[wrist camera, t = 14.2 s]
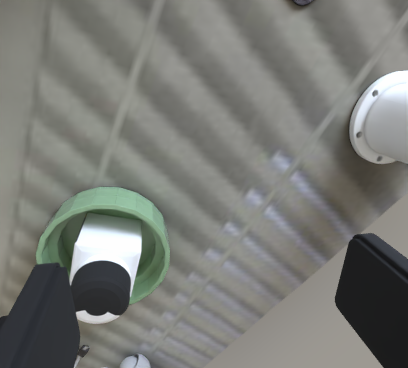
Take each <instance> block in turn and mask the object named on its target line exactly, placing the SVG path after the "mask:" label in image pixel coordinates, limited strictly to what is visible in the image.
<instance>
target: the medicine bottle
mask: <svg viewBox="0 0 408 368" xmlns="http://www.w3.org/2000/svg"><path fill="white" fill-rule="evenodd" d="M141 246H142V221H141V220H136V219H129V218H122V217H115V216H108V215H101V214H94V213H87V214H86V216H85V218H84V221H83V223H82V226H81V229H80V231H79V234H78V236H77V239H76V242H75V244H74V251H73V259H72V266H71V273H70V280H69V281H70V286H71V291H72V296H73V301H74V306H75V311H76V316H77V319H79V320H81V321H83V322H86V323H91V324H101V323H107V322H110V321H112V320H114V319H116V318H118V317H119V316H120V315H122V314H123V313H124V312H125V311H126V309H127V307H128V305H129V302H130V297H131V294H132V290H133V285H134V281H135V277H136V273H137V268H138V264H139V260H140V256H141Z"/></svg>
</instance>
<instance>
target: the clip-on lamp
mask: <svg viewBox="0 0 408 368" xmlns="http://www.w3.org/2000/svg"><path fill="white" fill-rule="evenodd" d="M88 350H89V346H84V345H83V346H82V348H81V349H80V350H79V352H78V354H77V355H79V356H78V358H77V360H76V361H75V365H74V368H76V366H77V364H78V362H79V360H80V358H81V357H84V356H85V354H86V353H87V352H88ZM103 368H107V367H103ZM120 368H150V363H149V361H148V359H147V358H146V357H145V356H143V355H142V354H138V353H137V354H134V355H133V356H130V357H127V358H125V359H124V360H123V361H122V363H121V365H120Z"/></svg>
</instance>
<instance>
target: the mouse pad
mask: <svg viewBox="0 0 408 368" xmlns="http://www.w3.org/2000/svg"><path fill="white" fill-rule="evenodd" d="M293 1H294V2H295V3H296V4H297V5H306V4H308V3H310V2H312V1H313V0H293Z"/></svg>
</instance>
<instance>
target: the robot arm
mask: <svg viewBox="0 0 408 368" xmlns="http://www.w3.org/2000/svg"><path fill="white" fill-rule="evenodd" d="M349 134H350V141H351V144H352V146H353V148H354V150H355V151H356V153H357V154H358V155H359V156H361V157H362V158H363V159H365V160H367V161H370V162H373V163H376V164H387V163H392V162H395V161H401V162H403V163H406V164H408V71H397V72H393V73H389V74H387V75H385V76H383V77H381V78H379V79H378V80H377V81H375V82H374V83H373V84H372V85H371V86H370V87H369V88H368V89H366V90H365V92H364V93H363V94H362V96H361V97H360V98H359V100H358V102H357V104H356V106H355V108H354V110H353V113H352V116H351V120H350V128H349ZM335 303H336V306H337V308H338V309H339V310H340V312H341V313H342V315H343V316H344V317H345V319H346V320H347V321H348V322H349V324H350V325H351V326H352V327H353V329H354V330H355V331H356V333H357V334H358V335H359V337H360V338H361V339H362V340H363V341H364V343H365V344H366V345H367V347H368V348H369V349H370V351H371V352H372V353H373V355H374V356H375V357H376V358H377V360H378V361H379V362H380V364H381V365H382V366H383V367H384V368H408V259H407V258H406V257H404V256H403V255H402V254H400V253H399V252H398V251H397V250H395V249H394V248H393V247H391V246H390V245H389V244H387V243H386V242H384V241H383V240H382V239H381V238H379V237H378V236H376V235H375V234H372V233H368V234H357V235H355V236H354V237H353V239H352V240H350V242H349V244H348V248H347V253H346V256H345V260H344V264H343V268H342V272H341V276H340V280H339V284H338V288H337V292H336V296H335ZM79 343H80V331H79V326H78V321H77V316H76V311H75V306H74V301H73V296H72V291H71V286H70V281H69V276H68V271H67V268H66V267H60V264H59V263H58V262H55V263H44V264H37V265H35V267H34V268H33V270H32V272H31V274H30V276H29V278H28V280H27V281H26V283H25V285H24V287H23V289H22V291H21V293H20V294H19V296H18V298H17V300H16V302H15V304H14V306H13V307H12V309H11V311H10V313H9V315H8V316H2V317H1V318H0V368H74V365H75V361H76V357H77V352H78V348H79Z"/></svg>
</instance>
